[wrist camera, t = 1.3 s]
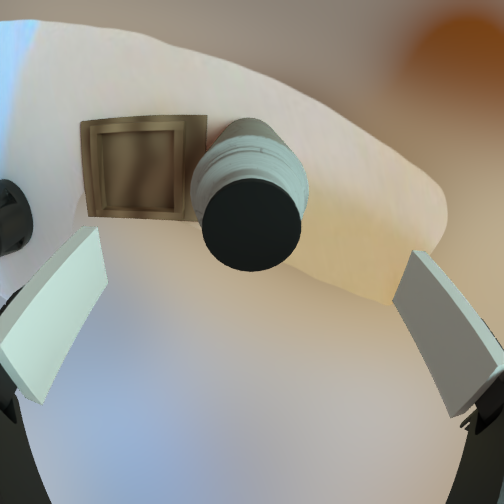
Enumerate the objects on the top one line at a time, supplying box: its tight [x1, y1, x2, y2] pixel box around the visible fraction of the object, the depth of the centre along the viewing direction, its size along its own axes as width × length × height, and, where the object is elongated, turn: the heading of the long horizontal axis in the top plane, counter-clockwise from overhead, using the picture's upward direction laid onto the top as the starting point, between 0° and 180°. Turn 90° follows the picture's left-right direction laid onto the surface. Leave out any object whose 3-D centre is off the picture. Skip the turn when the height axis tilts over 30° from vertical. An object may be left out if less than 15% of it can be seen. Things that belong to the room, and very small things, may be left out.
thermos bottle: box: [190, 118, 309, 272], centre depth 26 cm, size 8×8×28 cm
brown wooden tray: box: [81, 115, 207, 222], centre depth 38 cm, size 20×16×2 cm
